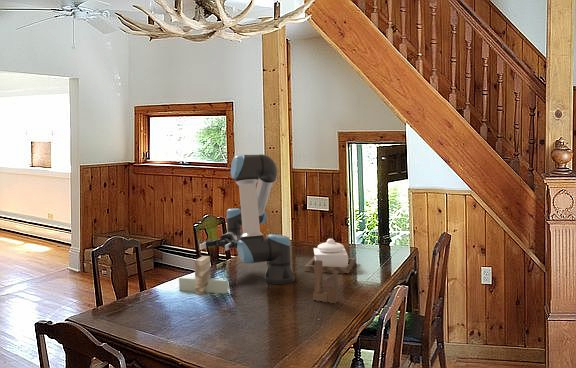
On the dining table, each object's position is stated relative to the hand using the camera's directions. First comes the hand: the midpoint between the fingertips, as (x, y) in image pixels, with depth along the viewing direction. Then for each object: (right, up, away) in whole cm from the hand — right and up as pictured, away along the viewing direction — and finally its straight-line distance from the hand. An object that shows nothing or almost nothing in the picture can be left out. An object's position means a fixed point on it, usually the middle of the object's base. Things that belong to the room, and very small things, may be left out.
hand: (212, 247), depth 292 cm
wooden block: (+54, -21, -31) cm, 66 cm away
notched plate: (-3, -19, -12) cm, 23 cm away
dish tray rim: (+61, -14, +32) cm, 70 cm away
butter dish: (+61, -14, +32) cm, 70 cm away
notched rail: (-3, -20, -12) cm, 23 cm away
